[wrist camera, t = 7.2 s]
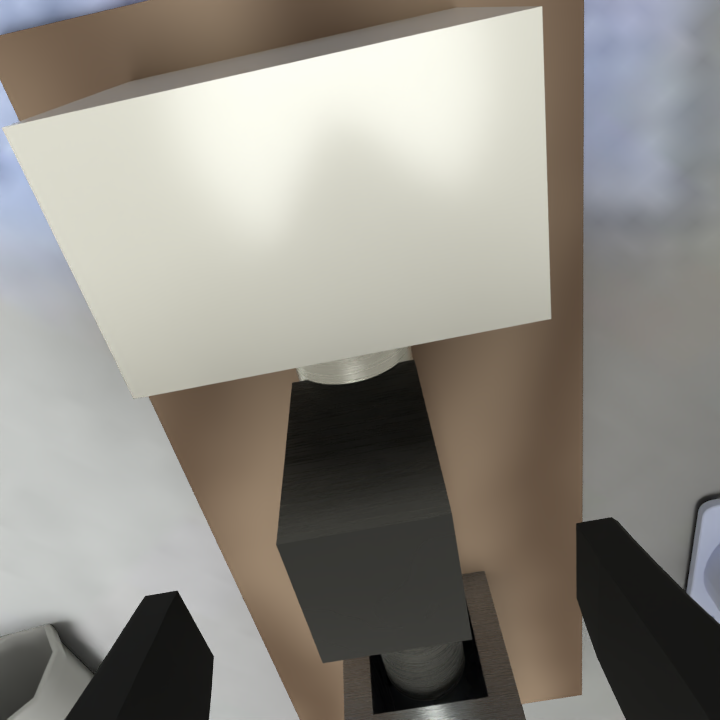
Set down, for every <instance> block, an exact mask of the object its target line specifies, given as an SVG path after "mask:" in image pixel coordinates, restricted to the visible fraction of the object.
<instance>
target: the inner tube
mask: <svg viewBox="0 0 720 720" xmlns="http://www.w3.org/2000/svg"><path fill="white" fill-rule="evenodd" d="M295 369H296V373H297V376H298V379H299V381H298V382H293V383H292V389H291V399H290V409H289V419H288V429H287V440H286V450H285V460H284V470H283V480H282V490H281V500H280V510H279V521H278V531H277V541H276V546H277V548H278V551H279V553H280V556H281V558H282V561H283V564H284V566H285V569H286V571H287V574H288V576H289V579H290V581H291V584H292V586H293V589H294V591H295V594H296V597H297V599H298V602H299V604H300V607H301V609H302V612H303V614H304V617H305V619H306V622H307V625H308V627H309V630H310V632H311V635H312V637H313V640H314V642H315V645H316V647H317V650H318V653H319V655H320V658H321V660H322V663H328V662H334V661H341V660H347V659H353V658H359V657H366V656H372V655H378V654H381V656H382V659H383V663H384V666H385V669H386V673H387V676H388V678H389V680H390V682H391V684H392V685H393V686H394V688H395V689H396V690H397V691H398V692H399V693H401V694H402V695H404V696H406V697H408V698H410V699H413V700H418V701H431V700H436V699H439V698H441V697H443V696H445V695H447V694H448V693H449V692H451V691H452V690H453V689H454V688H455V687H456V686H457V684H458V683H459V681H460V680H461V677H462V675H463V672H464V668H465V655H464V649H463V644H462V641H465V640H472V636H471V630H470V623H469V617H468V611H467V605H466V598H465V592H464V586H463V579H462V573H461V567H460V561H459V554H458V548H457V542H456V535H455V529H454V523H453V517H452V512H451V507H450V503H449V499H448V495H447V491H446V487H445V483H444V479H443V475H442V471H441V466H440V462H439V458H438V454H437V450H436V446H435V442H434V438H433V434H432V430H431V425H430V421H429V417H428V413H427V409H426V405H425V401H424V397H423V393H422V389H421V384H420V380H419V376H418V372H417V368H416V364H415V360H413V357H412V351H411V346H407V347H402V348H397V349H392V350H387V351H381V352H376V353H371V354H366V355H361V356H355V357H350V358H345V359H340V360H335V361H329V362H324V363H319V364H314V365H309V366H303V367H298V368H295Z"/></svg>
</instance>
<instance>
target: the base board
mask: <svg viewBox="0 0 720 720" xmlns="http://www.w3.org/2000/svg"><path fill="white" fill-rule="evenodd" d="M521 6H542V17H543V51H544V86H545V121H546V156H547V191H548V225H549V260H550V295H551V319H548V320H543V321H537V322H532V323H527V324H522V325H517V326H511V327H506V328H501V329H496V330H491V331H485V332H480V333H475V334H470V335H465V336H459V337H454V338H449V339H444V340H439V341H433V342H428V343H423V344H418V345H413V346H411V351H412V357H413V360H415V364H416V368H417V372H418V376H419V380H420V384H421V389H422V393H423V397H424V401H425V405H426V409H427V413H428V417H429V421H430V425H431V430H432V434H433V438H434V442H435V446H436V450H437V454H438V458H439V462H440V466H441V471H442V475H443V479H444V483H445V487H446V491H447V495H448V499H449V503H450V507H451V512H452V517H453V523H454V529H455V535H456V542H457V548H458V554H459V561H460V567H461V573H462V574H467V573H473V572H479V571H485V574H486V578H487V581H488V585H489V589H490V592H491V596H492V599H493V603H494V607H495V610H496V614H497V617H498V621H499V625H500V628H501V632H502V636H503V639H504V643H505V646H506V650H507V654H508V657H509V661H510V664H511V668H512V672H513V675H514V679H515V682H516V686H517V690H518V693H519V697H520V700H521V704H525V703H532V702H538V701H545V700H551V699H558V698H564V697H571V696H577V695H582V613H581V610H580V607H579V604H578V601H577V598H576V523H581V522H582V466H583V142H584V0H148V1H144V2H140V3H135V4H131V5H127V6H123V7H118V8H114V9H110V10H106V11H101V12H97V13H93V14H89V15H84V16H80V17H76V18H72V19H67V20H63V21H59V22H55V23H50V24H46V25H42V26H38V27H33V28H29V29H25V30H21V31H16V32H12V33H8V34H4V35H0V80H1V82H2V85H3V87H4V89H5V91H6V93H7V95H8V97H9V99H10V102H11V104H12V106H13V108H14V110H15V112H16V114H17V117H18V119H19V121H22V120H25V119H27V118H30V117H33V116H36V115H38V114H41V113H44V112H47V111H49V110H52V109H55V108H58V107H61V106H63V105H66V104H69V103H72V102H74V101H77V100H80V99H83V98H85V97H88V96H91V95H94V94H96V93H99V92H102V91H105V90H107V89H110V88H113V87H116V86H118V85H121V84H124V83H127V82H129V81H134V80H138V79H142V78H147V77H151V76H156V75H160V74H164V73H169V72H173V71H178V70H182V69H187V68H191V67H195V66H200V65H204V64H209V63H213V62H217V61H222V60H226V59H231V58H235V57H239V56H244V55H248V54H253V53H257V52H261V51H266V50H270V49H275V48H279V47H283V46H288V45H292V44H297V43H301V42H306V41H310V40H314V39H319V38H323V37H328V36H332V35H336V34H341V33H345V32H350V31H354V30H358V29H363V28H367V27H372V26H376V25H380V24H385V23H389V22H394V21H398V20H402V19H407V18H411V17H416V16H420V15H425V14H429V13H433V12H438V11H442V10H447V9H451V8H455V7H521ZM298 381H299V379H298V376H297V373H296V369H295V368H293V369H288V370H283V371H277V372H272V373H267V374H262V375H257V376H251V377H246V378H241V379H236V380H231V381H225V382H220V383H215V384H210V385H205V386H199V387H194V388H189V389H184V390H179V391H173V392H168V393H163V394H158V395H153V396H149V398H150V400H151V403H152V405H153V407H154V409H155V411H156V413H157V415H158V418H159V420H160V422H161V424H162V426H163V428H164V430H165V432H166V435H167V437H168V439H169V441H170V443H171V445H172V447H173V450H174V452H175V454H176V456H177V458H178V460H179V462H180V465H181V467H182V469H183V471H184V473H185V475H186V477H187V479H188V482H189V484H190V486H191V488H192V490H193V492H194V494H195V497H196V499H197V501H198V503H199V505H200V507H201V509H202V511H203V514H204V516H205V518H206V520H207V522H208V524H209V526H210V529H211V531H212V533H213V535H214V537H215V539H216V541H217V543H218V546H219V548H220V550H221V552H222V554H223V556H224V558H225V561H226V563H227V565H228V567H229V569H230V571H231V573H232V576H233V578H234V580H235V582H236V584H237V586H238V588H239V590H240V593H241V595H242V597H243V599H244V601H245V603H246V605H247V608H248V610H249V612H250V614H251V616H252V618H253V620H254V622H255V625H256V627H257V629H258V631H259V633H260V635H261V637H262V640H263V642H264V644H265V646H266V648H267V650H268V652H269V654H270V657H271V659H272V661H273V663H274V665H275V667H276V669H277V672H278V674H279V676H280V678H281V680H282V682H283V684H284V687H285V689H286V691H287V693H288V695H289V697H290V699H291V701H292V704H293V706H294V708H295V710H296V712H297V714H298V716H299V719H300V720H344V681H343V660H341V661H334V662H328V663H322V660H321V658H320V655H319V653H318V650H317V647H316V645H315V642H314V640H313V637H312V635H311V632H310V630H309V627H308V625H307V622H306V619H305V617H304V614H303V612H302V609H301V607H300V604H299V602H298V599H297V597H296V594H295V591H294V589H293V586H292V584H291V581H290V579H289V576H288V574H287V571H286V569H285V566H284V564H283V561H282V558H281V556H280V553H279V551H278V548H277V546H276V541H277V531H278V521H279V510H280V500H281V490H282V480H283V470H284V460H285V450H286V440H287V429H288V419H289V409H290V399H291V389H292V383H293V382H298Z"/></svg>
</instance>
